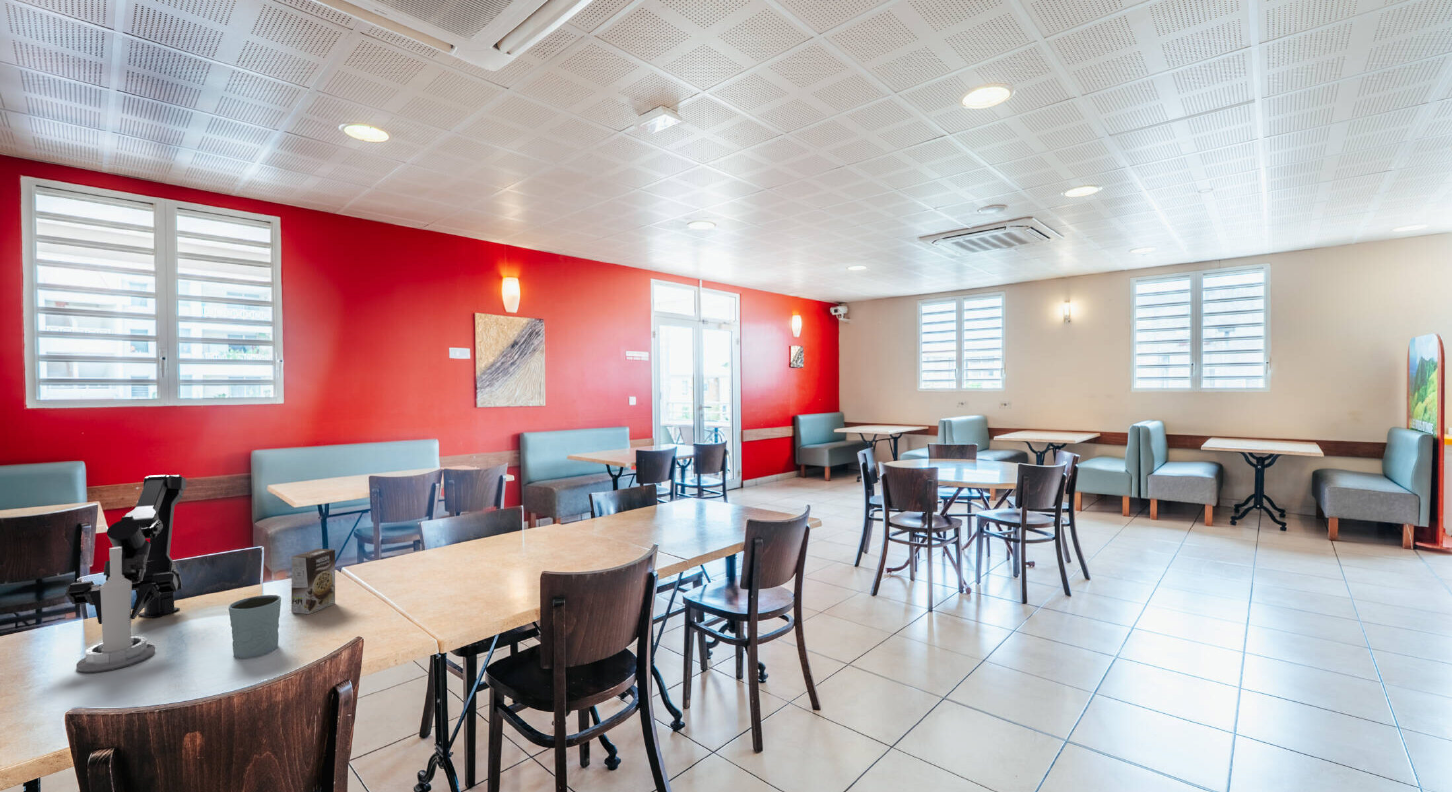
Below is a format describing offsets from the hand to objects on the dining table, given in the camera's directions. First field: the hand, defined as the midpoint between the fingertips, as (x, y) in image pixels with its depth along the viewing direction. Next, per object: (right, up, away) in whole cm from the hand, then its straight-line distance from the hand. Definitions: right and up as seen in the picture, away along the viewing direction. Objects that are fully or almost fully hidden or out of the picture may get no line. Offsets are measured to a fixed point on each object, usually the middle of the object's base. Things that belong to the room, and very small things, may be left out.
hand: (116, 621), depth 142 cm
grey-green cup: (+28, -10, +6) cm, 30 cm away
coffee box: (+23, -9, +34) cm, 42 cm away
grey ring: (0, -9, 0) cm, 9 cm away
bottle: (0, -8, +1) cm, 8 cm away
